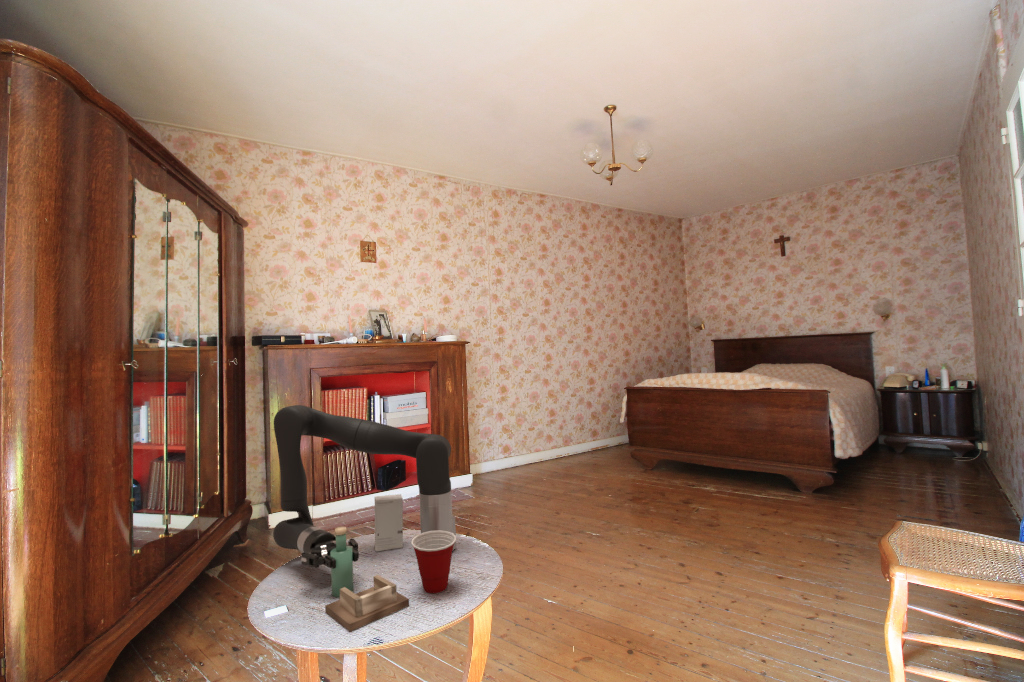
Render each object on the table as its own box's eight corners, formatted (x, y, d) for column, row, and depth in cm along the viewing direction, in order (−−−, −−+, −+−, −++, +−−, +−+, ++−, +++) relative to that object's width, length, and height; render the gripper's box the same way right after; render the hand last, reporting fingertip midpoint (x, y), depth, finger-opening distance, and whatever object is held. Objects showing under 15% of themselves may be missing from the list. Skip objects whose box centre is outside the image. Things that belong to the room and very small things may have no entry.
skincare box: (375, 552, 142) (373, 501, 143) (374, 545, 148) (373, 496, 148) (404, 547, 144) (402, 497, 145) (402, 541, 150) (401, 492, 151)
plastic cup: (414, 602, 110) (413, 549, 111) (411, 582, 120) (409, 533, 121) (461, 594, 113) (459, 542, 114) (454, 575, 124) (452, 527, 124)
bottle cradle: (382, 589, 117) (381, 568, 118) (409, 605, 109) (408, 583, 109) (325, 612, 108) (324, 589, 108) (349, 631, 99) (349, 606, 99)
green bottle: (347, 585, 121) (345, 523, 121) (357, 591, 117) (355, 527, 118) (328, 592, 117) (326, 529, 118) (337, 599, 114) (335, 533, 114)
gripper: (288, 537, 123) (315, 553, 111) (342, 522, 133) (372, 536, 121) (289, 567, 123) (316, 587, 111) (343, 550, 133) (373, 566, 121)
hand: (345, 560), depth 116 cm, fingers closed on green bottle, 5 cm apart
